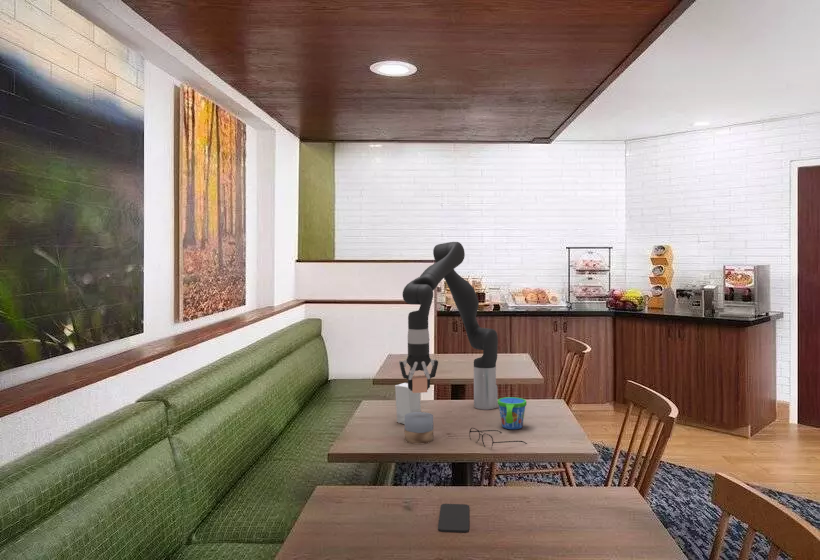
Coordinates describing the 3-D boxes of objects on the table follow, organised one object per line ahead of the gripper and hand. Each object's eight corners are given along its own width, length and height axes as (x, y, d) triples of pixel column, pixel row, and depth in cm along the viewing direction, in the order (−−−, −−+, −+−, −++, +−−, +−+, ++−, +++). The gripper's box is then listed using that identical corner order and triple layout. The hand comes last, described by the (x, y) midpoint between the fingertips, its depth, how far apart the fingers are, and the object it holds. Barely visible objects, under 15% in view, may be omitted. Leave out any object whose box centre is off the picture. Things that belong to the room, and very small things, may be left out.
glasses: (468, 440, 210) (469, 426, 210) (502, 438, 217) (504, 425, 217) (491, 452, 197) (493, 437, 197) (527, 450, 204) (529, 435, 204)
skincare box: (421, 423, 230) (421, 384, 229) (410, 426, 226) (409, 387, 225) (406, 419, 236) (406, 381, 235) (395, 422, 232) (394, 384, 231)
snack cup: (503, 420, 233) (503, 394, 232) (530, 423, 229) (530, 396, 228) (492, 431, 218) (492, 403, 218) (521, 434, 214) (521, 406, 214)
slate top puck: (430, 423, 216) (429, 411, 216) (436, 431, 206) (435, 418, 206) (402, 425, 214) (402, 412, 214) (407, 433, 205) (407, 420, 204)
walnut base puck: (430, 435, 216) (430, 423, 216) (436, 444, 206) (435, 431, 206) (402, 437, 215) (402, 425, 214) (407, 446, 205) (406, 433, 205)
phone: (469, 504, 155) (469, 530, 140) (469, 507, 155) (469, 534, 140) (440, 503, 156) (437, 529, 141) (440, 506, 156) (437, 532, 141)
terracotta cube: (424, 389, 213) (424, 375, 213) (427, 392, 208) (427, 378, 208) (410, 389, 213) (410, 375, 212) (413, 392, 208) (412, 378, 207)
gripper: (436, 339, 215) (437, 386, 215) (396, 340, 212) (397, 388, 213) (440, 342, 207) (441, 391, 208) (399, 343, 205) (400, 393, 206)
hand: (418, 389), depth 210 cm, fingers closed on terracotta cube, 5 cm apart
